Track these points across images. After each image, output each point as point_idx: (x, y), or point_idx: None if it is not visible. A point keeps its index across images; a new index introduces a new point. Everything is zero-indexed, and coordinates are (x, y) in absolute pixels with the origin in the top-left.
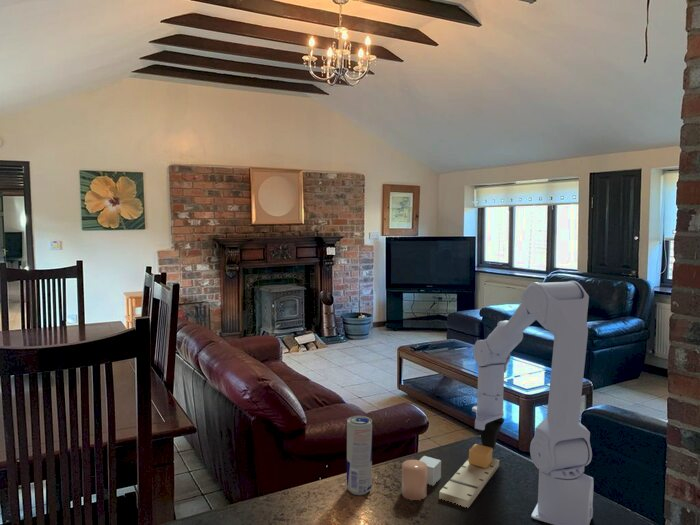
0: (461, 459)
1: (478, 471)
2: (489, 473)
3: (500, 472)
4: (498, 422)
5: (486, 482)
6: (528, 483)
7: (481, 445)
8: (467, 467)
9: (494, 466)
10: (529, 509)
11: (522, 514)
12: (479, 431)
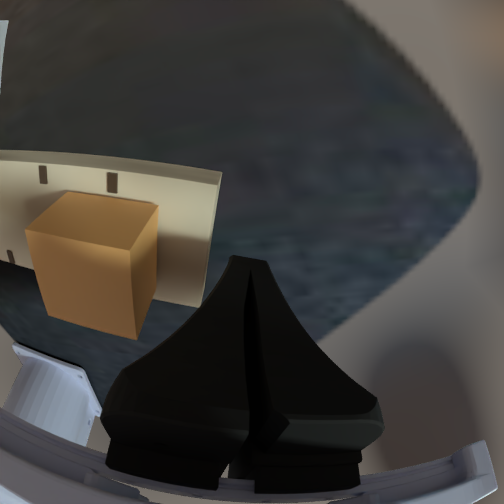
0: (195, 109)
1: None
2: None
3: None
4: (231, 477)
5: None
6: (138, 355)
7: (128, 289)
8: (47, 190)
9: None
10: (34, 342)
11: (12, 328)
12: (176, 331)
